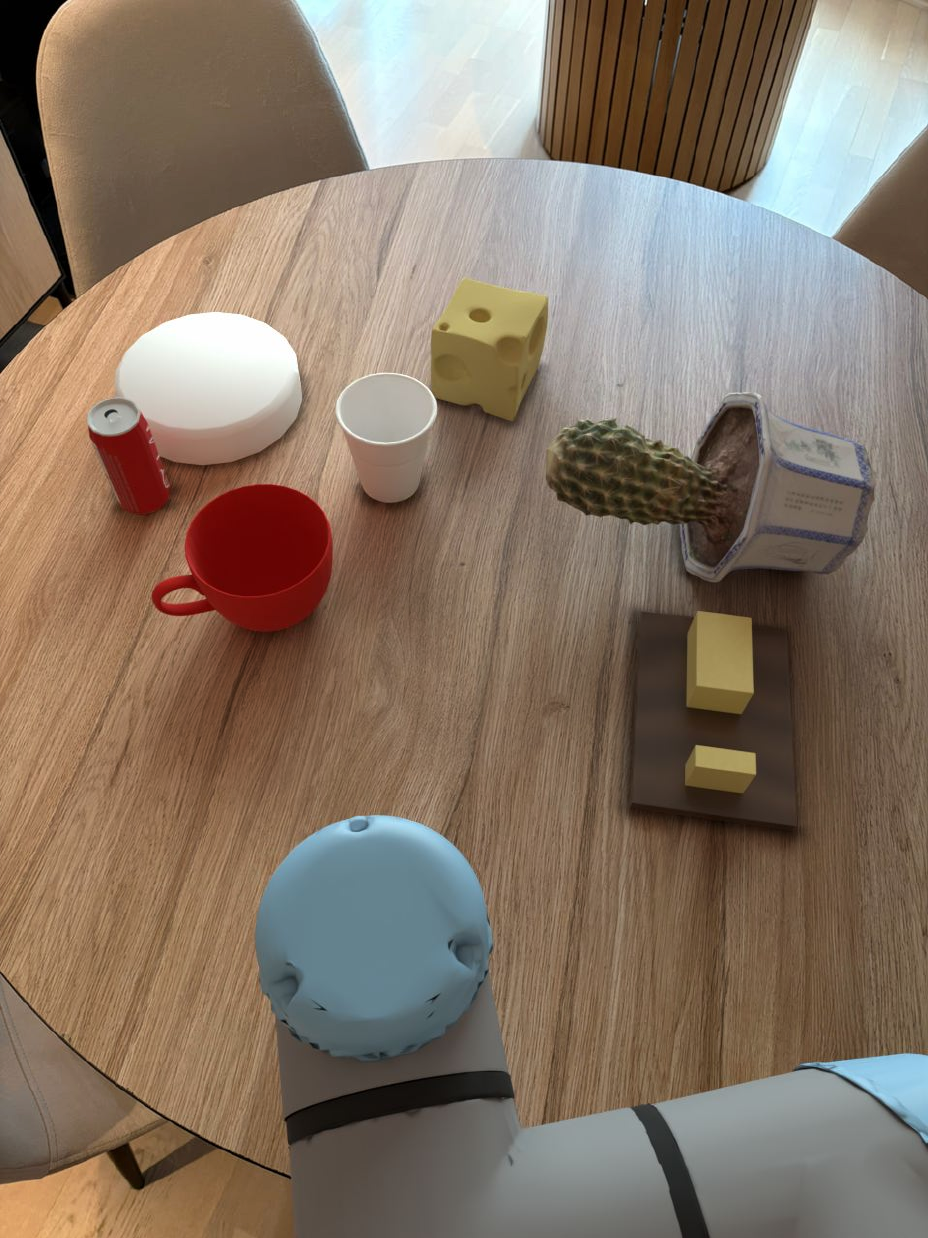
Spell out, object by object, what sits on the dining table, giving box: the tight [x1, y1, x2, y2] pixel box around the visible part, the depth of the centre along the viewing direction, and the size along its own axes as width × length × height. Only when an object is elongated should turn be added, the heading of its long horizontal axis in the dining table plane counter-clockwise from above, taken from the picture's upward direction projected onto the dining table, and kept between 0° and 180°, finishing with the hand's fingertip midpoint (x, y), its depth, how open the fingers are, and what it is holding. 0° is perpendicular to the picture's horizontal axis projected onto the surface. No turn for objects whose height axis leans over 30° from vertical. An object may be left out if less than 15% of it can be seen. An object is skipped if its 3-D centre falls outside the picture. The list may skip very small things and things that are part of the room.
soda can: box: [86, 396, 172, 515], centre depth 95 cm, size 6×6×12 cm
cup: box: [334, 372, 438, 504], centre depth 97 cm, size 10×10×11 cm
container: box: [113, 311, 303, 466], centre depth 106 cm, size 20×20×5 cm
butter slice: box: [685, 745, 756, 794], centre depth 81 cm, size 2×5×4 cm, turn 82°
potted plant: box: [545, 391, 877, 583], centre depth 90 cm, size 18×18×30 cm
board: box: [629, 610, 798, 832], centre depth 87 cm, size 20×14×1 cm
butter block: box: [686, 610, 754, 714], centre depth 87 cm, size 8×5×4 cm, turn 172°
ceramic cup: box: [151, 483, 334, 632], centre depth 88 cm, size 13×17×10 cm
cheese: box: [430, 276, 549, 422], centre depth 106 cm, size 10×11×10 cm
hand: (404, 1082), depth 62 cm, fingers closed on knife, 2 cm apart
